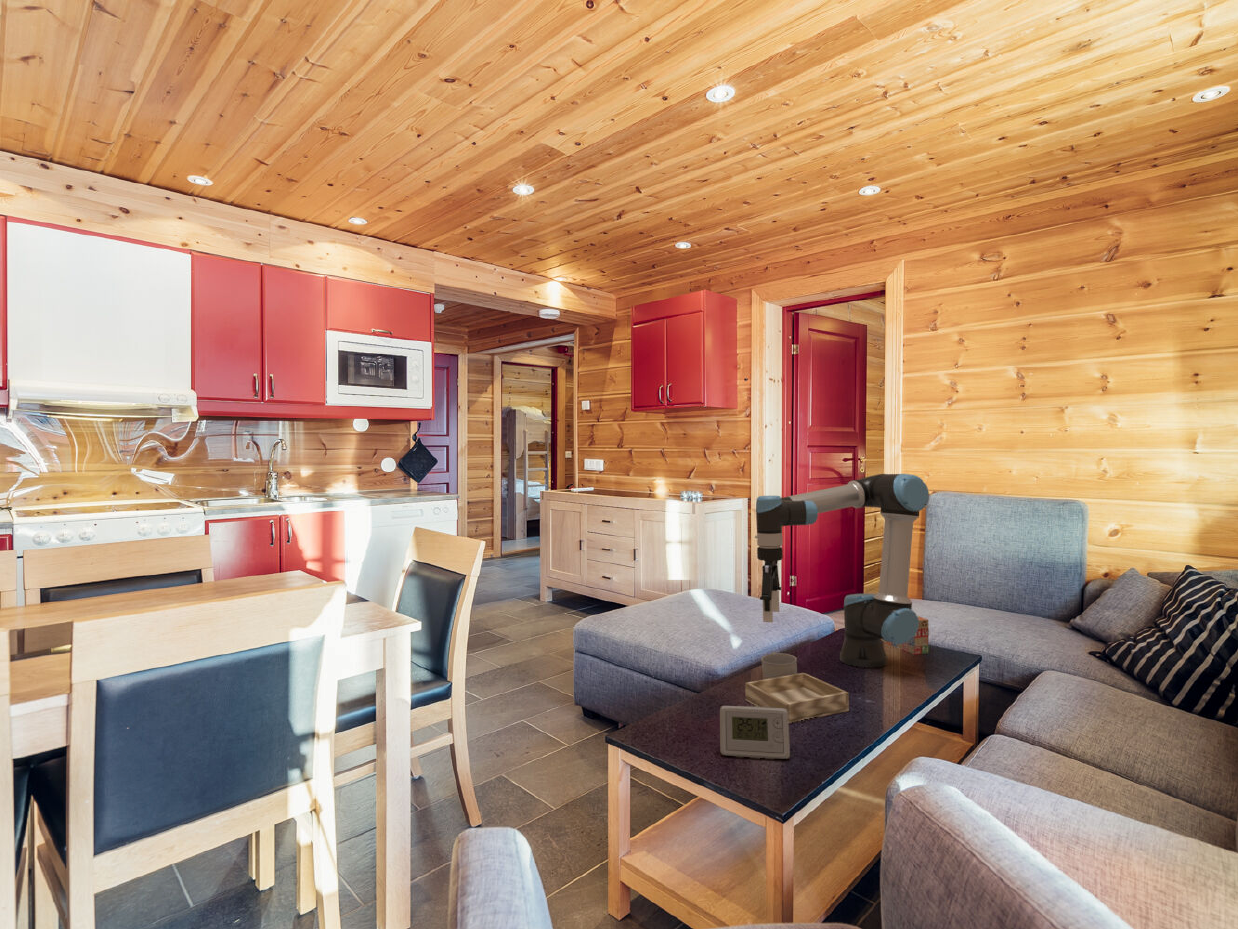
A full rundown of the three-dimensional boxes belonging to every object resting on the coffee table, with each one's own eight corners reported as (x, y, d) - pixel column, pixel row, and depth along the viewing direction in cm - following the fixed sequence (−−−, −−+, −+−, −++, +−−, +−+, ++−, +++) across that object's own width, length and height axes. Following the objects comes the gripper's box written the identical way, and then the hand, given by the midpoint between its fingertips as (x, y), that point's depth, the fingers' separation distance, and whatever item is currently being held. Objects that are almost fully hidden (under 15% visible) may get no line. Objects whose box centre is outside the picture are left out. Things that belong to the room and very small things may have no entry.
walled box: (804, 689, 193) (803, 672, 193) (848, 710, 175) (848, 692, 175) (745, 700, 185) (745, 682, 185) (786, 724, 167) (785, 705, 167)
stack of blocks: (875, 639, 246) (874, 607, 246) (889, 638, 247) (888, 606, 247) (914, 655, 225) (913, 620, 225) (929, 653, 226) (928, 619, 227)
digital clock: (717, 756, 150) (716, 711, 150) (725, 741, 158) (724, 698, 158) (787, 767, 144) (786, 720, 144) (792, 750, 152) (791, 706, 152)
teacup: (798, 690, 192) (798, 663, 192) (761, 688, 195) (761, 662, 195) (795, 675, 206) (794, 650, 206) (761, 673, 208) (760, 649, 208)
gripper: (763, 541, 206) (765, 606, 206) (749, 551, 183) (751, 625, 183) (787, 541, 203) (789, 608, 203) (776, 552, 180) (778, 627, 180)
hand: (771, 616), depth 193 cm, fingers open, 13 cm apart
